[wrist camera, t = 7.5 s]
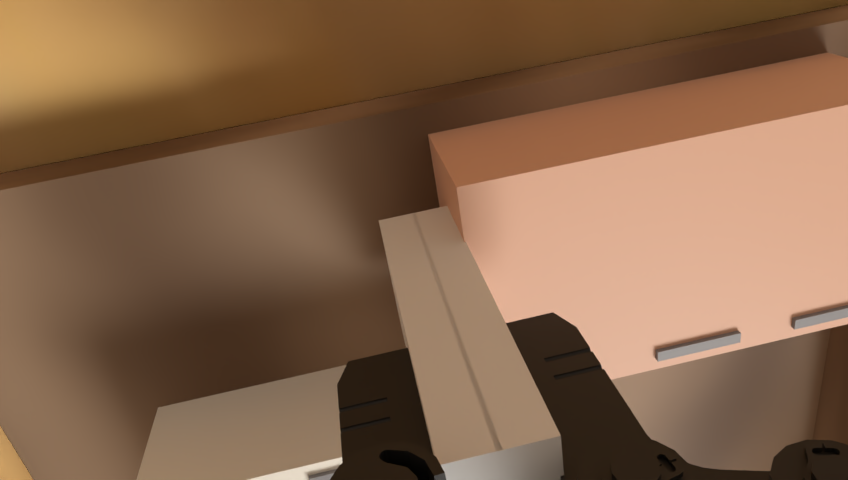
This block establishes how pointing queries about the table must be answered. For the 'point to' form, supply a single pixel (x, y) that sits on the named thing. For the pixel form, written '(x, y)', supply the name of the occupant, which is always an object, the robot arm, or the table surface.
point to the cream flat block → (250, 433)
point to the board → (329, 267)
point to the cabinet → (665, 212)
